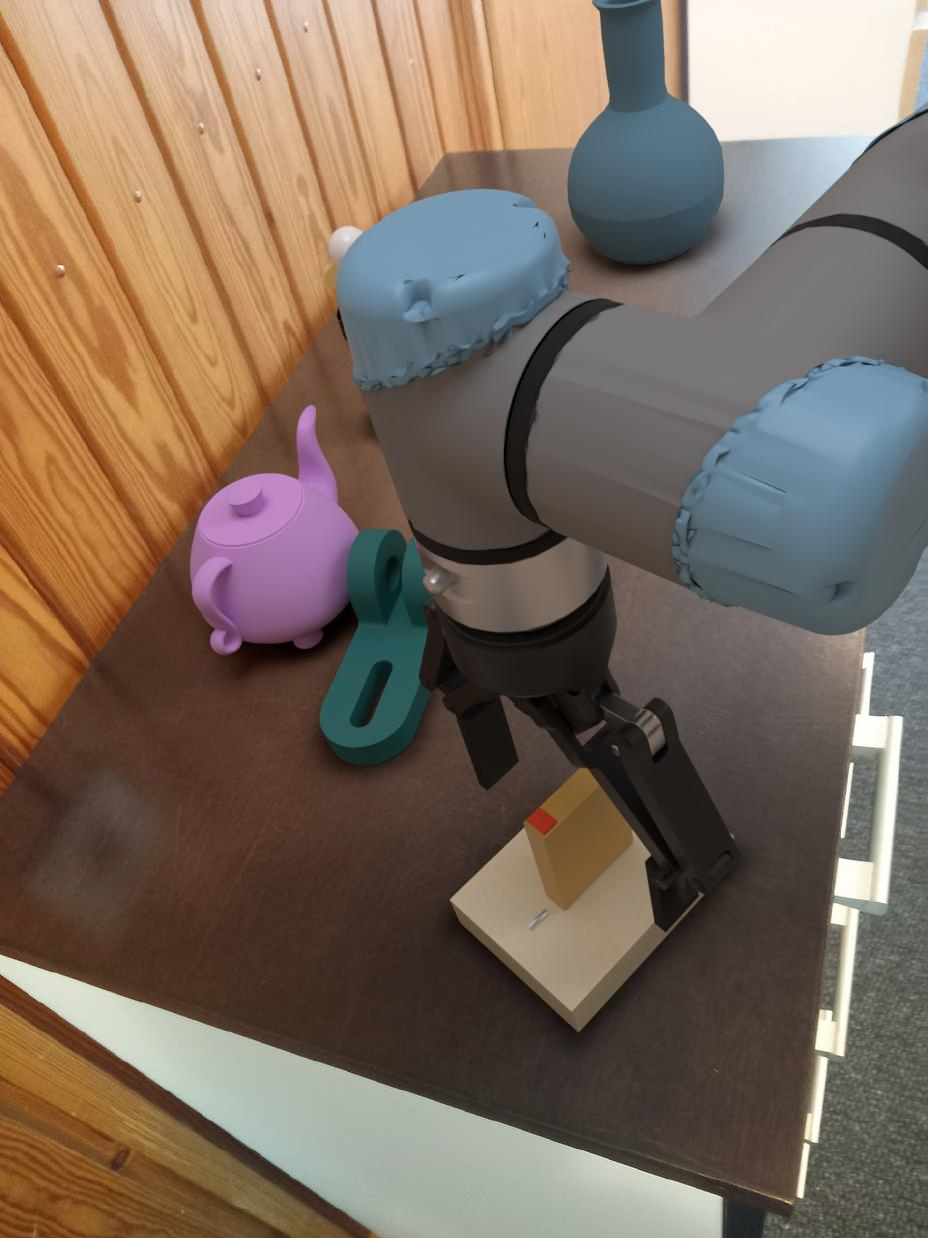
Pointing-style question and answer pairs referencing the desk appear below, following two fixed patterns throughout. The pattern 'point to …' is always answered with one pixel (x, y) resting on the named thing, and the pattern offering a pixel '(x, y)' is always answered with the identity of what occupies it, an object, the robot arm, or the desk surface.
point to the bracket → (380, 652)
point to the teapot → (274, 554)
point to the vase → (643, 150)
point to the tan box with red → (576, 837)
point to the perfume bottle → (339, 258)
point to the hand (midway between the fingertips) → (582, 837)
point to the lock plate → (564, 927)
